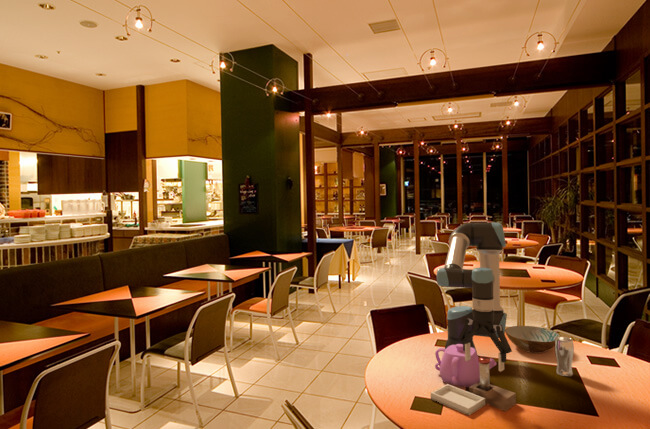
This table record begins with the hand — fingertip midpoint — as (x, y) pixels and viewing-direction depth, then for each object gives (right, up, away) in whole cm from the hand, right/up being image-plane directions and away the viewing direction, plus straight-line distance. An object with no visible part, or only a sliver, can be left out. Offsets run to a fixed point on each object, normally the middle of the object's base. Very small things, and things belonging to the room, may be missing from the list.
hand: (484, 365), depth 152 cm
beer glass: (+42, -11, +20) cm, 48 cm away
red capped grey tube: (+1, -13, +1) cm, 13 cm away
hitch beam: (+2, -13, -2) cm, 13 cm away
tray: (-11, -13, -2) cm, 17 cm away
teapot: (-1, -13, +17) cm, 21 cm away
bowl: (+44, -11, +49) cm, 66 cm away
